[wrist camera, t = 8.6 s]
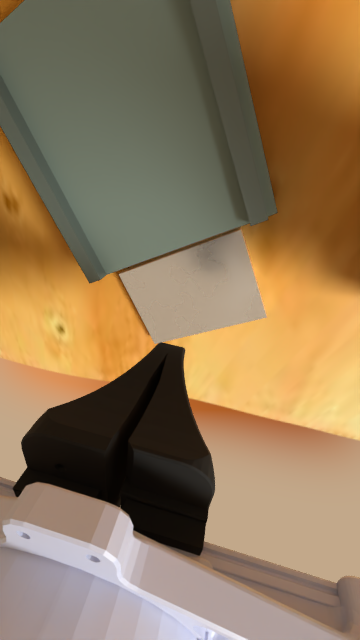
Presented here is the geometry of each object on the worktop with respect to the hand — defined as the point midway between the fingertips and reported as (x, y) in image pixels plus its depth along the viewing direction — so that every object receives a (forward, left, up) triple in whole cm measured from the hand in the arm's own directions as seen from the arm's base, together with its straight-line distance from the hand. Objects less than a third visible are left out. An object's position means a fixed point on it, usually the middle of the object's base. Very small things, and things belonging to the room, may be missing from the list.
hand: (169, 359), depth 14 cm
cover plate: (0, 0, -10) cm, 10 cm away
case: (+11, 0, -9) cm, 14 cm away
